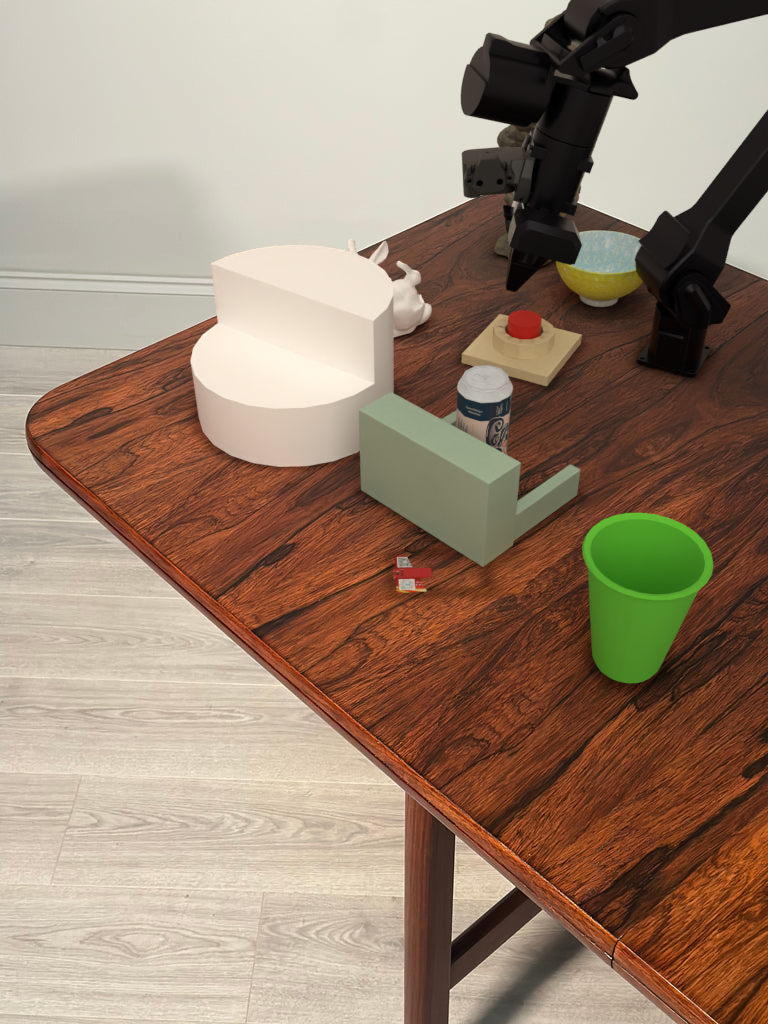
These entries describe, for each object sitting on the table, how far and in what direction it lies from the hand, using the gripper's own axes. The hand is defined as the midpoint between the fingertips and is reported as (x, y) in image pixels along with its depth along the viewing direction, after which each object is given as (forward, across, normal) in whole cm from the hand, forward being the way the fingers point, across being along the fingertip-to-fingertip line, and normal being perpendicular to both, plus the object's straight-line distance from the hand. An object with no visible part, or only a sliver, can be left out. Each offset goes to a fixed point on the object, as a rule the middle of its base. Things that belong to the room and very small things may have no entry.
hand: (510, 289), depth 104 cm
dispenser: (+13, +19, -1) cm, 23 cm away
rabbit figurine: (+13, -12, -11) cm, 21 cm away
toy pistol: (+15, +29, -3) cm, 33 cm away
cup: (+11, +39, +11) cm, 42 cm away
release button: (+7, -6, +4) cm, 10 cm away
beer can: (+12, +18, 0) cm, 22 cm away
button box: (+9, -6, +5) cm, 12 cm away
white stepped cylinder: (+16, +5, -18) cm, 25 cm away
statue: (+7, -32, +7) cm, 33 cm away
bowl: (+6, -19, +14) cm, 25 cm away
